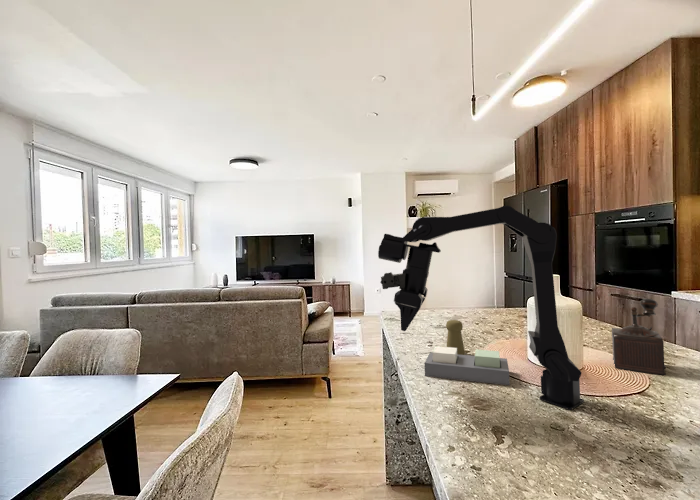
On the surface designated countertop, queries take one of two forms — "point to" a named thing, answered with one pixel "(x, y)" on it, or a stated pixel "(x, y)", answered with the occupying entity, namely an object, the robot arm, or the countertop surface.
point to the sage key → (487, 358)
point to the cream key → (445, 355)
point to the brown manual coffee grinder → (639, 344)
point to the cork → (455, 336)
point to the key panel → (468, 370)
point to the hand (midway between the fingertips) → (405, 326)
